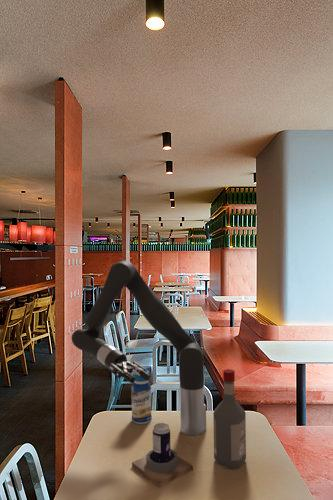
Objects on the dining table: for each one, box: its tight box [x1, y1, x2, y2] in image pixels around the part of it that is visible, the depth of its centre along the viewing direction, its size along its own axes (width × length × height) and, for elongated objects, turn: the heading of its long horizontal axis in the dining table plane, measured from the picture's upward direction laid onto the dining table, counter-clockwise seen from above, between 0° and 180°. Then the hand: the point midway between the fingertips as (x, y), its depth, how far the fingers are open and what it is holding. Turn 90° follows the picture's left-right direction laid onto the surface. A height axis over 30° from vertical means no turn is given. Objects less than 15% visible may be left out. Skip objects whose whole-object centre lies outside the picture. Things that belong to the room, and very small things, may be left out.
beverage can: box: [152, 422, 171, 463], centre depth 127 cm, size 6×6×12 cm
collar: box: [145, 448, 179, 473], centre depth 127 cm, size 10×10×2 cm
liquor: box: [213, 368, 247, 470], centre depth 130 cm, size 9×9×30 cm
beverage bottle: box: [130, 369, 153, 425], centre depth 162 cm, size 8×8×20 cm
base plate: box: [131, 455, 194, 488], centre depth 127 cm, size 14×14×2 cm
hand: (141, 379), depth 140 cm, fingers open, 8 cm apart
